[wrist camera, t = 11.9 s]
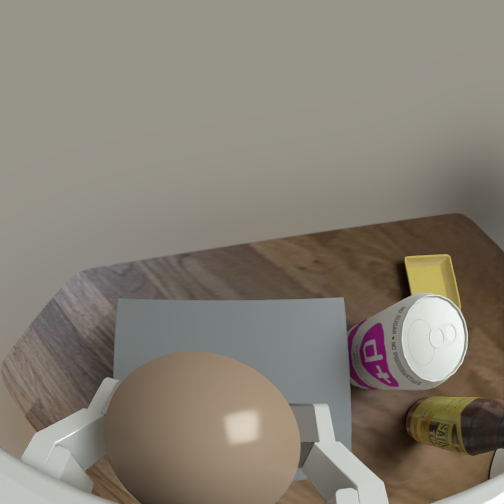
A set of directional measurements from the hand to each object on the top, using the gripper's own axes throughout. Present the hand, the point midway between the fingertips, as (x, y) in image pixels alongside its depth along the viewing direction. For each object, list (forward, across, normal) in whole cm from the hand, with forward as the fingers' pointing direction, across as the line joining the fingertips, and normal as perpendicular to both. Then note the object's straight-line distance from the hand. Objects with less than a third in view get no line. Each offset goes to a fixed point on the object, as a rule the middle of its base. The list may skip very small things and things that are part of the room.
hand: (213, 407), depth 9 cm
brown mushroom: (+3, 0, +4) cm, 5 cm away
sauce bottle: (+14, -25, +21) cm, 35 cm away
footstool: (+17, 0, +18) cm, 24 cm away
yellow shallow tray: (+27, -26, +8) cm, 38 cm away
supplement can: (+20, -16, +14) cm, 29 cm away
